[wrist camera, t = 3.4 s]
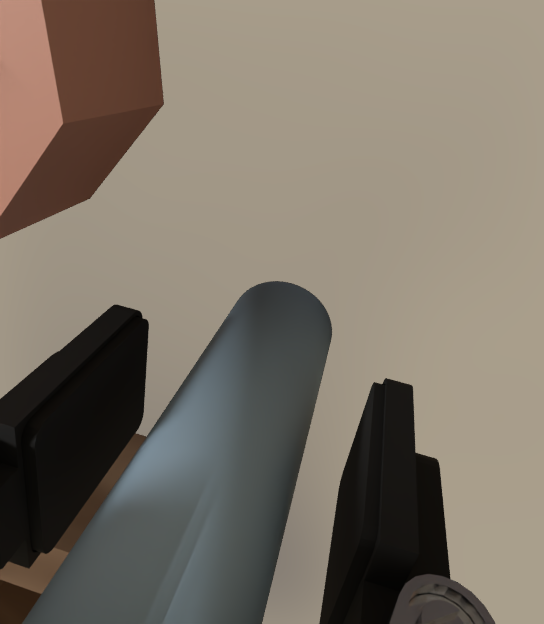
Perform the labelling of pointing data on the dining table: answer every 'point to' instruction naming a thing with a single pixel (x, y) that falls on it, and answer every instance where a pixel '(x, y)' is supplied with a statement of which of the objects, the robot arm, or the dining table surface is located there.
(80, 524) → the bead
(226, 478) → the dowel
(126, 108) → the pink octagonal nut
